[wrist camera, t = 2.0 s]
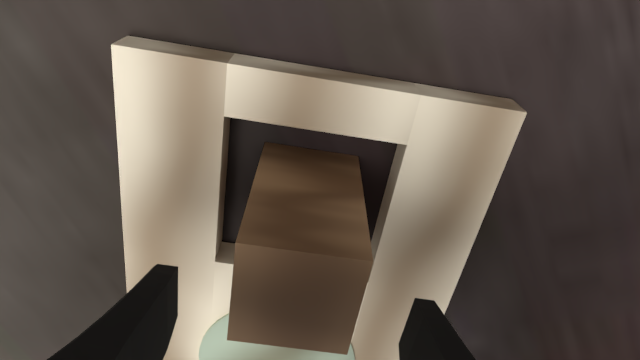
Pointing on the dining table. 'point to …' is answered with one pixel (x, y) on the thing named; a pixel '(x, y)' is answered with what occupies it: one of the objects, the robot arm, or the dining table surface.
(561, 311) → the dining table surface
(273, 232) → the block
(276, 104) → the board
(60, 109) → the dining table surface
